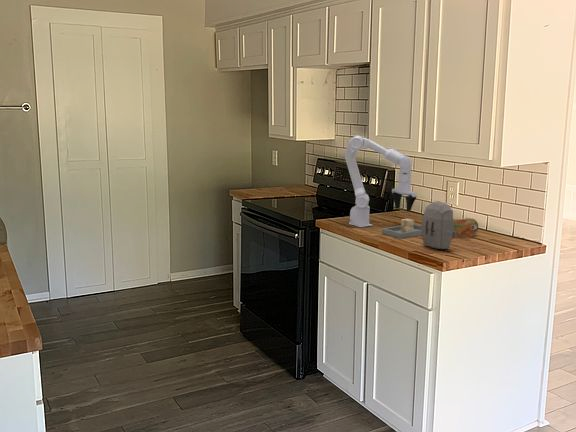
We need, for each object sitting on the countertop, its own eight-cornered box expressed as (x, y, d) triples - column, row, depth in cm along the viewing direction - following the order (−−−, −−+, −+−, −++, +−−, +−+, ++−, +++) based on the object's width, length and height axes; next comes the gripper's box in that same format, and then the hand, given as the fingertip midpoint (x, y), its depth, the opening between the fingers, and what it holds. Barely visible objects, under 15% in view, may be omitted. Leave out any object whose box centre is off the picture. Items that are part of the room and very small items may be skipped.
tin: (449, 238, 258) (450, 219, 256) (445, 236, 261) (446, 218, 259) (478, 236, 262) (479, 218, 260) (474, 234, 265) (475, 217, 263)
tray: (382, 233, 264) (382, 228, 264) (412, 228, 275) (412, 223, 275) (400, 238, 255) (400, 233, 254) (431, 233, 266) (431, 228, 265)
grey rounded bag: (455, 250, 235) (458, 203, 231) (440, 253, 231) (443, 204, 227) (429, 242, 248) (432, 197, 244) (414, 245, 244) (417, 199, 240)
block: (400, 232, 265) (401, 219, 264) (407, 231, 268) (407, 218, 266) (407, 233, 262) (407, 221, 261) (413, 232, 264) (414, 220, 263)
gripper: (421, 183, 270) (420, 211, 273) (399, 179, 282) (398, 206, 285) (411, 184, 266) (409, 212, 269) (389, 180, 278) (388, 207, 281)
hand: (403, 209), depth 277 cm, fingers open, 7 cm apart
